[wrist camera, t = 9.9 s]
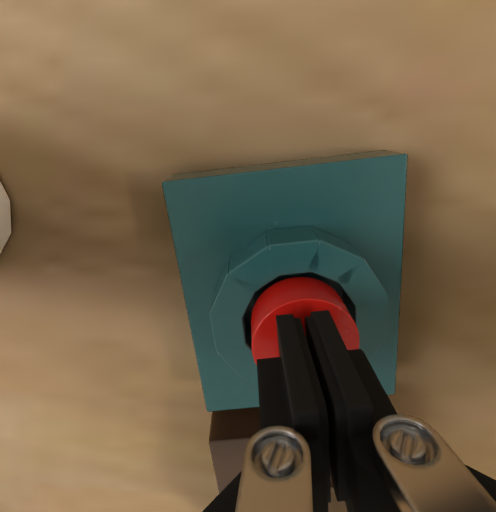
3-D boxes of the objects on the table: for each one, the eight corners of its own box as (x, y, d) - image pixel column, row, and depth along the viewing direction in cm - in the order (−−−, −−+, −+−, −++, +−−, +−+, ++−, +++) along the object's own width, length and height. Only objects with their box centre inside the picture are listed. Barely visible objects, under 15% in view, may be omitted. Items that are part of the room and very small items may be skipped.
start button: (345, 354, 13) (359, 385, 12) (255, 362, 14) (257, 395, 12) (344, 271, 12) (360, 293, 11) (245, 281, 12) (245, 305, 11)
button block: (378, 364, 18) (413, 426, 14) (211, 380, 18) (202, 445, 15) (384, 149, 14) (434, 157, 10) (172, 174, 14) (147, 190, 11)
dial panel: (374, 513, 22) (393, 572, 19) (238, 525, 23) (236, 584, 20) (378, 379, 18) (403, 427, 15) (213, 395, 19) (207, 445, 16)
